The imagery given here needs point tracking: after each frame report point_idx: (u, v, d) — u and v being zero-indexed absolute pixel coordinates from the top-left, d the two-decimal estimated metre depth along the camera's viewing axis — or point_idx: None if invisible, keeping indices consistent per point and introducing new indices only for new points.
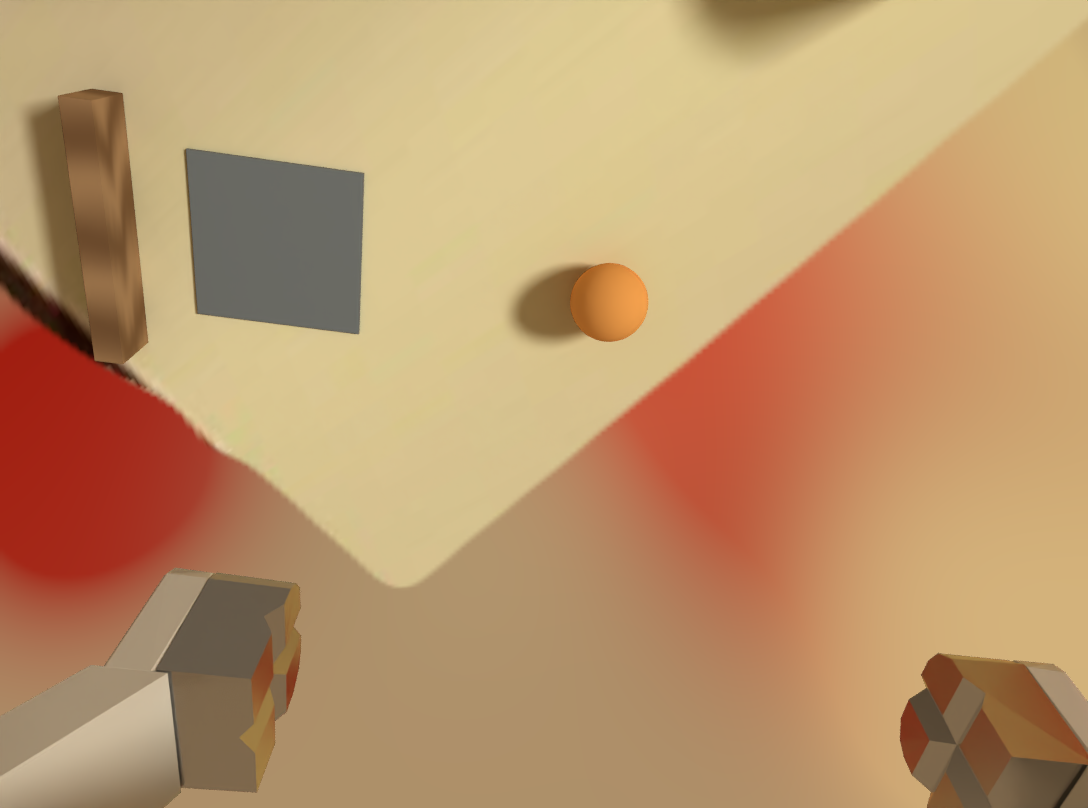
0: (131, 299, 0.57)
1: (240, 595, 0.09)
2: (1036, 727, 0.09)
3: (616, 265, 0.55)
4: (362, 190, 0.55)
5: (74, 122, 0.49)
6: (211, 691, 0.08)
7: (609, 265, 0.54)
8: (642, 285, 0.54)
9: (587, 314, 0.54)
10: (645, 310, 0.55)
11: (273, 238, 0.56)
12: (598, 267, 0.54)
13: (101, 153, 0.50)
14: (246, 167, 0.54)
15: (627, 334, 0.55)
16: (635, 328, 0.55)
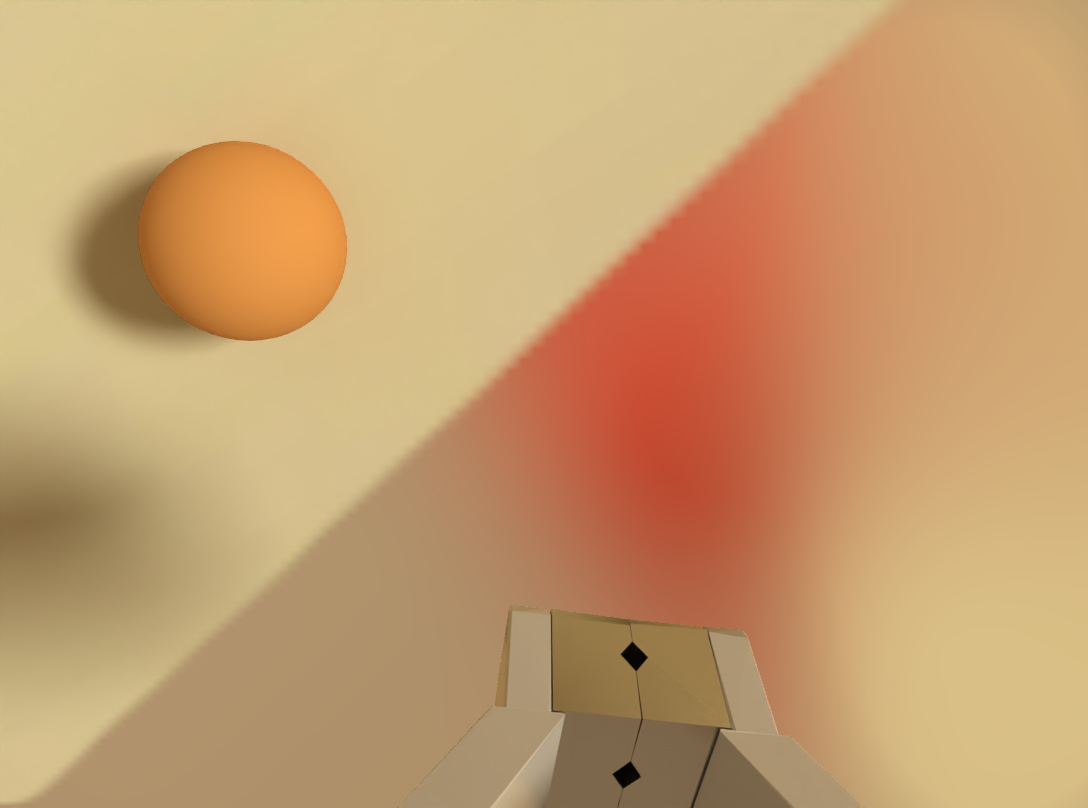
0: None
1: (588, 633, 0.09)
2: (685, 690, 0.09)
3: (245, 143, 0.21)
4: None
5: None
6: (599, 730, 0.08)
7: (225, 143, 0.21)
8: (312, 195, 0.21)
9: (156, 270, 0.20)
10: (323, 260, 0.21)
11: None
12: (197, 148, 0.21)
13: None
14: None
15: (280, 322, 0.22)
16: (300, 306, 0.21)
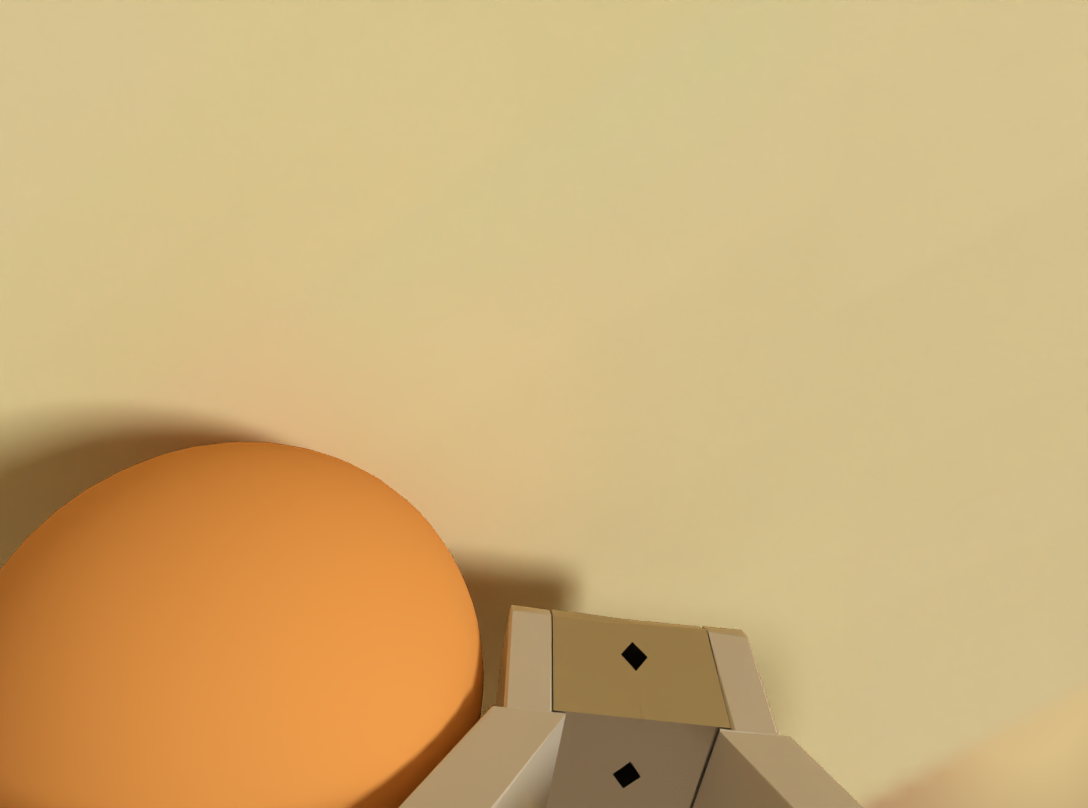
0: None
1: (588, 633, 0.09)
2: (685, 690, 0.09)
3: (247, 498, 0.08)
4: None
5: None
6: (599, 730, 0.08)
7: (211, 478, 0.08)
8: (299, 737, 0.07)
9: None
10: None
11: None
12: (173, 460, 0.08)
13: None
14: None
15: None
16: None
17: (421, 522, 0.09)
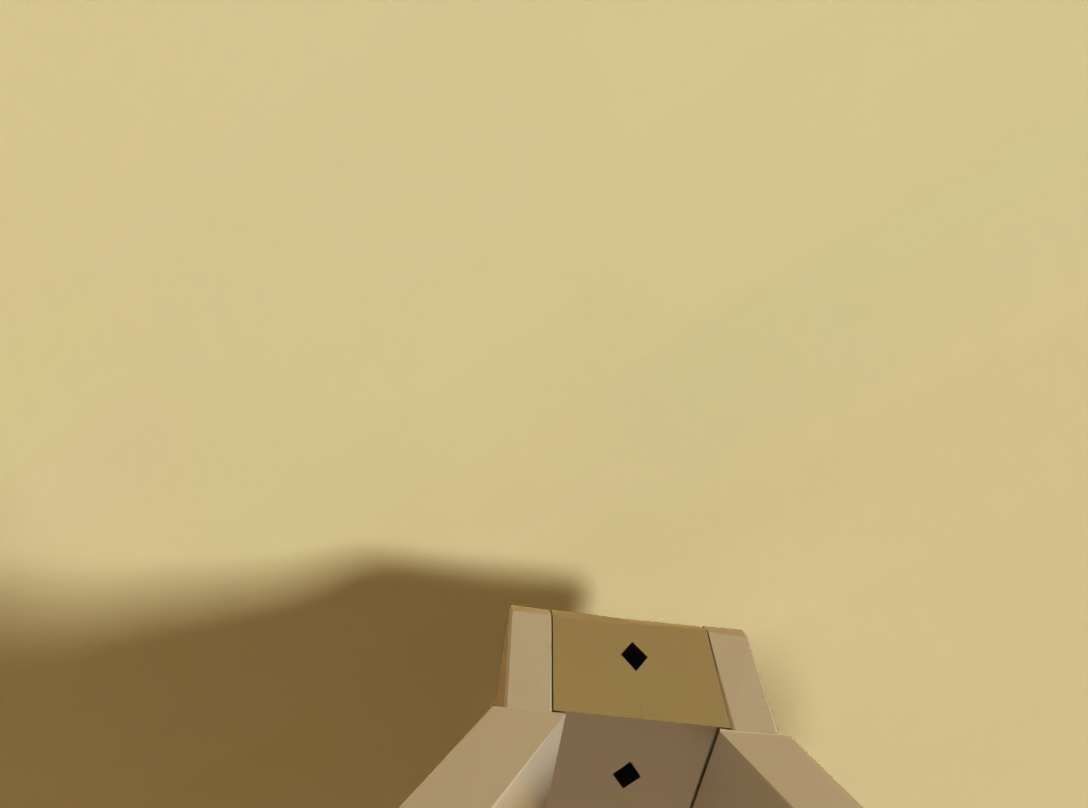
0: None
1: (588, 633, 0.09)
2: (685, 690, 0.09)
3: None
4: None
5: None
6: (599, 730, 0.08)
7: None
8: None
9: None
10: None
11: None
12: None
13: None
14: None
15: None
16: None
17: None
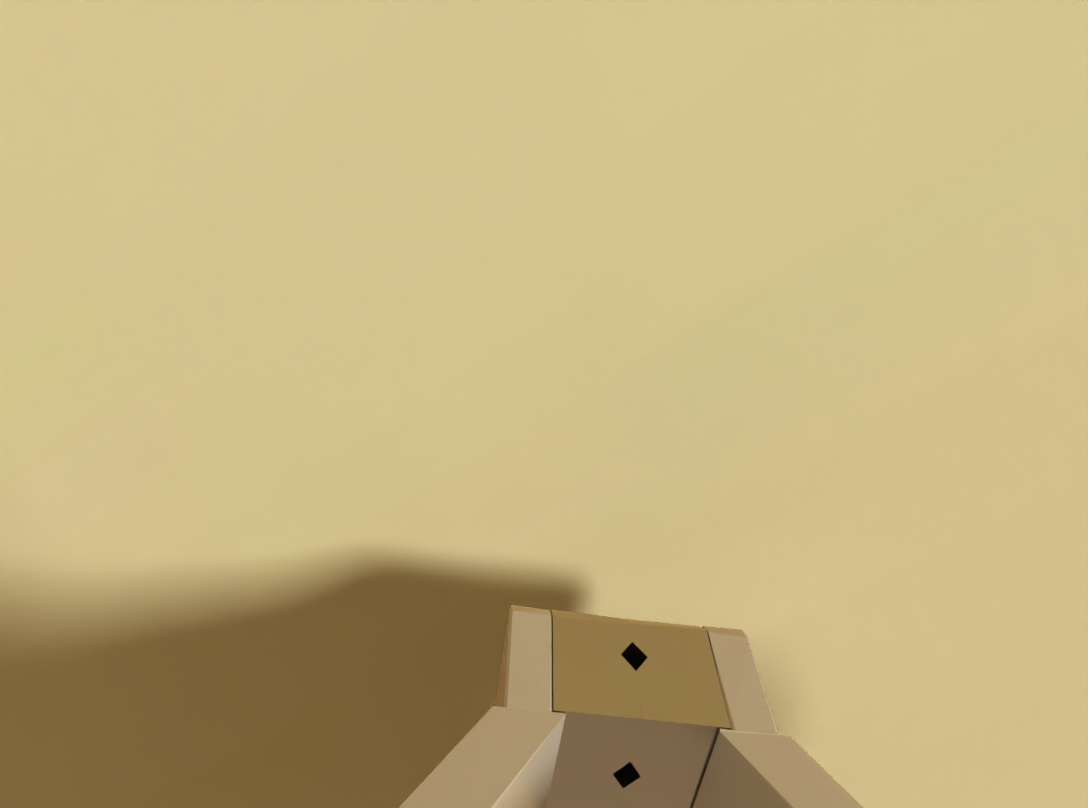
0: None
1: (588, 633, 0.09)
2: (685, 690, 0.09)
3: None
4: None
5: None
6: (599, 730, 0.08)
7: None
8: None
9: None
10: None
11: None
12: None
13: None
14: None
15: None
16: None
17: None
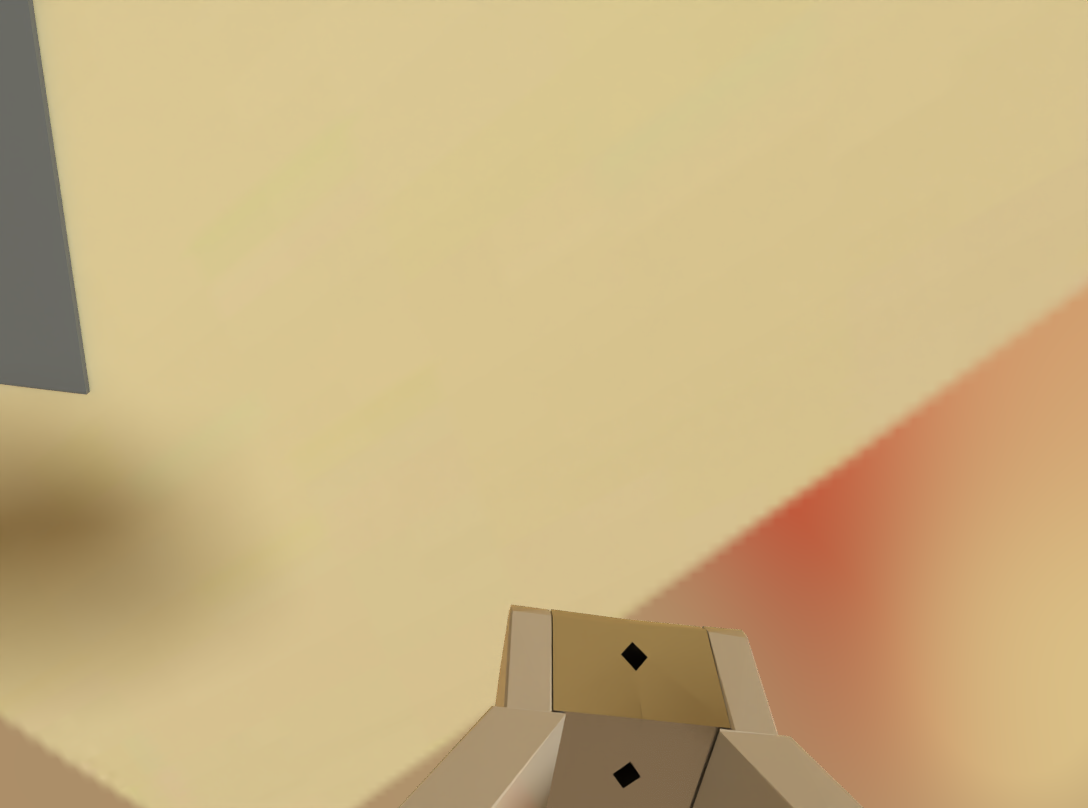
0: None
1: (588, 633, 0.09)
2: (685, 690, 0.09)
3: None
4: (30, 21, 0.20)
5: None
6: (599, 730, 0.08)
7: None
8: None
9: None
10: None
11: None
12: None
13: None
14: None
15: None
16: None
17: None
